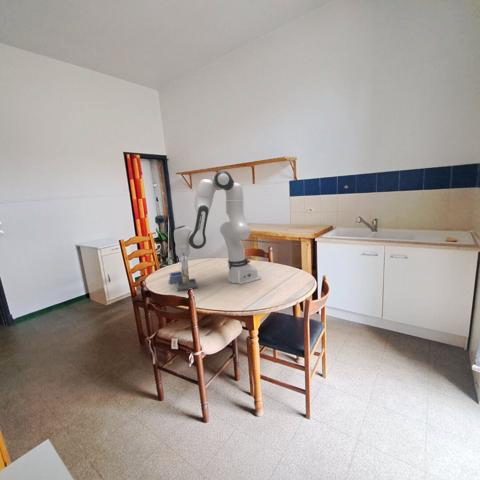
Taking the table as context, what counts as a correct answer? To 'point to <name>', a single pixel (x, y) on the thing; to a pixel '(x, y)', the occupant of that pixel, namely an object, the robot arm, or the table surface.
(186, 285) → the tray
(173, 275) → the blue socket block
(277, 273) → the table surface
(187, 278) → the peg
